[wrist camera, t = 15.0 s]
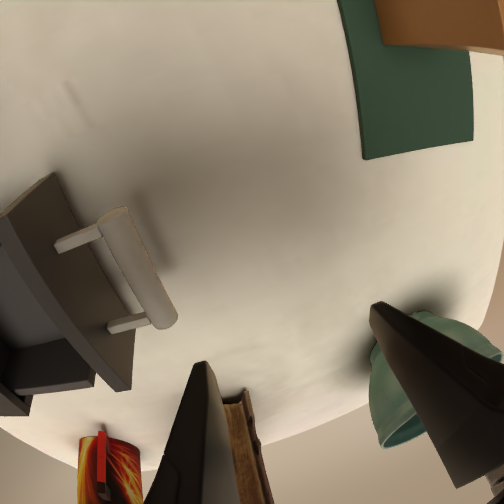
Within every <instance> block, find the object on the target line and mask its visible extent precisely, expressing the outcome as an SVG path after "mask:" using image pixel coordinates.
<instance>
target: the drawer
mask: <svg viewBox="0 0 504 504" xmlns="http://www.w3.org/2000/svg"><path fill="white" fill-rule="evenodd" d="M101 237H104V239H105V241H106V243H107V245H108V247H109V249H110V251H111V253H112V254H113V256H114V258H115V260H116V262H117V264H118V266H119V268H120V269H121V271H122V273H123V275H124V277H125V278H126V280H127V282H128V284H129V286H130V287H131V289H132V291H133V293H134V294H135V296H136V298H137V299H138V301H139V303H140V304H141V306H142V308H143V309H144V311H145V312H141V313H138V314H134V315H131V316H130V315H129V314H128V312H127V311H126V309H125V308H124V306H123V304H122V303H121V301H120V300H119V298H118V296H117V295H116V293H115V292H114V290H113V288H112V287H111V285H110V283H109V282H108V280H107V278H106V276H105V275H104V273H103V271H102V269H101V268H100V266H99V264H98V262H97V261H96V259H95V257H94V255H93V253H92V251H91V250H90V248H89V246H88V244H87V243H88V242H91V241H93V240H96V239H99V238H101ZM177 318H178V314H177V312H176V310H175V308H174V306H173V304H172V302H171V300H170V298H169V297H168V295H167V293H166V291H165V289H164V287H163V285H162V283H161V281H160V279H159V277H158V275H157V273H156V271H155V269H154V267H153V265H152V263H151V261H150V258H149V256H148V254H147V252H146V250H145V248H144V246H143V244H142V241H141V239H140V237H139V235H138V233H137V230H136V228H135V226H134V224H133V221H132V219H131V217H130V214H129V212H128V210H127V208H126V207H118V208H115V209H112V210H110V211H108V212H107V213H105V214H104V215H102V216H101V217H100V218H99V219H98V221H97V223H96V224H94V225H91V226H89V227H86V228H84V229H81V230H80V228H79V226H78V224H77V222H76V220H75V218H74V216H73V214H72V212H71V210H70V208H69V206H68V203H67V201H66V199H65V197H64V195H63V192H62V190H61V188H60V185H59V183H58V181H57V178H56V176H55V174H54V173H51V174H50V175H48V176H46V177H44V178H42V179H40V180H39V181H38V182H36V183H35V184H34V185H33V186H32V187H30V188H29V189H28V190H27V191H26V192H25V193H23V194H22V195H21V196H20V197H19V198H18V199H17V200H15V201H14V202H13V203H12V204H11V205H10V206H9V207H8V208H7V209H6V210H5V211H4V212H3V213H2V214H1V215H0V382H1V383H2V384H3V385H4V386H5V387H7V388H8V389H9V390H10V391H11V392H12V393H13V394H14V395H15V396H21V395H33V394H43V393H52V392H61V391H69V390H76V389H83V388H90V387H94V382H95V375H96V373H97V374H98V375H99V376H100V377H101V378H102V379H103V380H104V381H105V382H106V383H107V384H108V385H109V386H110V387H111V388H112V389H113V390H114V391H115V392H122V391H127V390H131V387H132V369H133V354H134V342H135V331H136V328H138V327H142V326H146V325H149V324H151V322H152V324H153V326H154V327H155V328H157V329H160V330H163V329H167V328H169V327H171V326H172V325H174V324H175V322H176V321H177Z"/></svg>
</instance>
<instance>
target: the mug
mask: <svg viewBox="0 0 504 504" xmlns="http://www.w3.org/2000/svg"><path fill="white" fill-rule="evenodd" d="M77 494H78V495H77V496H78V504H143V494H142V482H141V466H140V451H139V449H138V448H137V447H135V446H133V445H131V444H129V443H127V442H124V441H120V440H117V439H112V438H107V435H106V432H105V431H98V437H93V436H92V437H84V438H82V439H81V440H80V442H79V456H78V487H77Z"/></svg>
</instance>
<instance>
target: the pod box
mask: <svg viewBox="0 0 504 504" xmlns="http://www.w3.org/2000/svg"><path fill="white" fill-rule="evenodd" d="M374 4H375V8H376V12H377V16H378V21H379V26H380V30H381V35H382V41H383V45H391V46H410V47H422V48H432V49H448V50H461V51H471V52H479V53H487V54H494V55H500V56H504V0H374Z"/></svg>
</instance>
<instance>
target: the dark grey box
mask: <svg viewBox="0 0 504 504" xmlns="http://www.w3.org/2000/svg"><path fill="white" fill-rule="evenodd" d="M32 399H33V395H21V396H15V395H14V394H13V393H12V392H11V391H10V390H9V389H8V388H7V387H5V386H4V385H3V384H2V383H1V382H0V416H29V413H30V407H31V403H32Z"/></svg>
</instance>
